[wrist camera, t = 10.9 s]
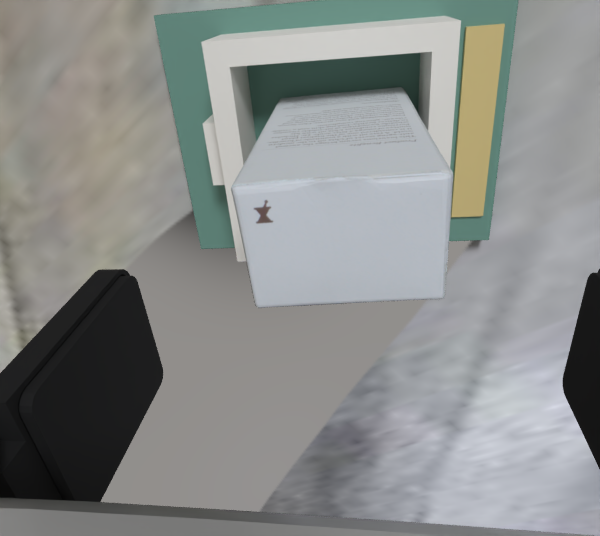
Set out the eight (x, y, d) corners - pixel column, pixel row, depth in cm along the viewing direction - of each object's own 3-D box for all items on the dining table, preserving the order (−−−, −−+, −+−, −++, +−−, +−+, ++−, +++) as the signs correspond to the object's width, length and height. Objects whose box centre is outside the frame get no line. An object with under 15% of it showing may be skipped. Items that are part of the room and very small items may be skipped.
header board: (513, -18, 21) (550, -19, 17) (484, 231, 27) (506, 272, 23) (161, 14, 23) (122, 20, 19) (205, 241, 29) (183, 280, 25)
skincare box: (289, 180, 26) (248, 312, 15) (279, 96, 24) (223, 181, 13) (407, 172, 25) (448, 304, 14) (407, 84, 23) (455, 165, 12)
